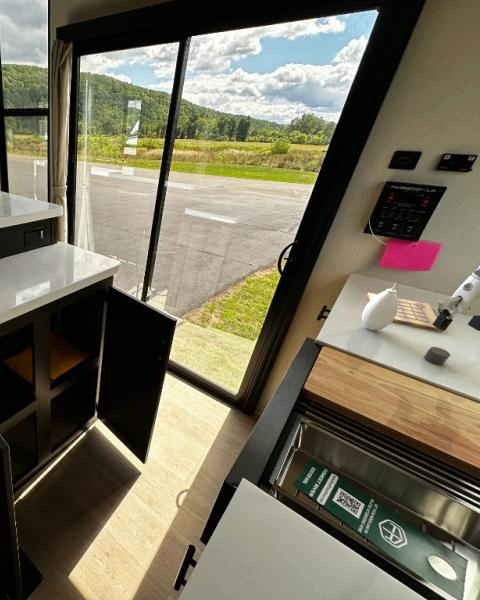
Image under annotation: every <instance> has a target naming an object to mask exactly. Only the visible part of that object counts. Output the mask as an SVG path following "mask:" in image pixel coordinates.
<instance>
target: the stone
mask: <svg viewBox="0 0 480 600" xmlns="http://www.w3.org/2000/svg"><path fill="white" fill-rule="evenodd" d="M450 357H451V353H450V352H449V351H448V350H446V349H443V348H442V347H437V346H431V347H429V348H428V349H427V351H426V353H425V354H424V356H423V359H424V360H425V361H427V362H428V363H430V364H432V365H436V366H444V365H445V363H446V362H447V361H448V360H449V358H450Z"/></svg>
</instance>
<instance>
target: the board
mask: <svg viewBox="0 0 480 600" xmlns="http://www.w3.org/2000/svg"><path fill="white" fill-rule="evenodd" d="M378 294H379V293H378ZM378 294H377V293H373V292H367V293H366V298H367V301H368V303H369V302H370V301H371V300H372V299H373V298H374V297H375V296H377V295H378ZM437 317H438V316H437V315H436V314H435V312H434V310H433V309H432V307H431V305H430V304H429V303H426V302H420V301H415V300H411V299H405V298H404V299H403V298H399V297H398V311H397V314H396V316H395V318H394V320H393V321H392V322H391V323H396V324H403V325H407V326H412V327H415V328H421V329H425V330H430V331H435V332H439V333H442V332H443V331H441V330H440V329H438V328H436V327H435V326H433V323H434V321H435V320H436V318H437Z"/></svg>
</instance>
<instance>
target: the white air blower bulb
mask: <svg viewBox="0 0 480 600" xmlns="http://www.w3.org/2000/svg"><path fill="white" fill-rule="evenodd" d="M396 286H397V282H395V283H394V285H393V286H392V288H386V290H384V291H381V292H380V293H378V295H377V296H375V297H374V298H373V299H372V300H371V301H370V302H369V301H368V302H367V304H366V306H365V307H364V309H363V310H362V313H361V314H362V315H361V320H362V324H363V326H364V327H365V328H366V329H368V330H370V331H380V330H383V329H386V328H387V327H389V326H390V325H391V324H392V323H393V322H392V321H393V320H394V318H395V316H396V314H397V311H398V298H399V297H398V295H397V294H398V291H397V290H396V289H395V288H396Z"/></svg>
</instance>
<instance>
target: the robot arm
mask: <svg viewBox="0 0 480 600" xmlns="http://www.w3.org/2000/svg"><path fill="white" fill-rule="evenodd" d="M463 281H464V282H462V283H461V284H460V286H459V287H458V288H457V289H456V290H455V291H454V293H453V294H452V295H451V296H450V298H448V299H445V300H441V301H439V302H438V308H437V312H438V315H437V316H436V317H437V318H436V320H435V321H434V323H433V326H435V327H436V328H438V329H440V330H441V331H442V332H445V331H446V330H447V329H448V328H449V327H450V325H451V324H452V322H453V321H454V319H453V318H455V317H456V316H459V315H462V316H464V317H465V316H466V317H467V316H469V317H471V316H472V317H471V319H470V320H469V321H468V322H467V325H468V326H469V327H471V328H473V329H474V330H476V331H478V332H480V262H479V263H478V265H477V266H476V267H475V269H474V270H473V271H472V274H471V275H469V276H468V277H467V278H466V280H463ZM451 310H452V311H453V312H451ZM450 312H451V313H450Z"/></svg>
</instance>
